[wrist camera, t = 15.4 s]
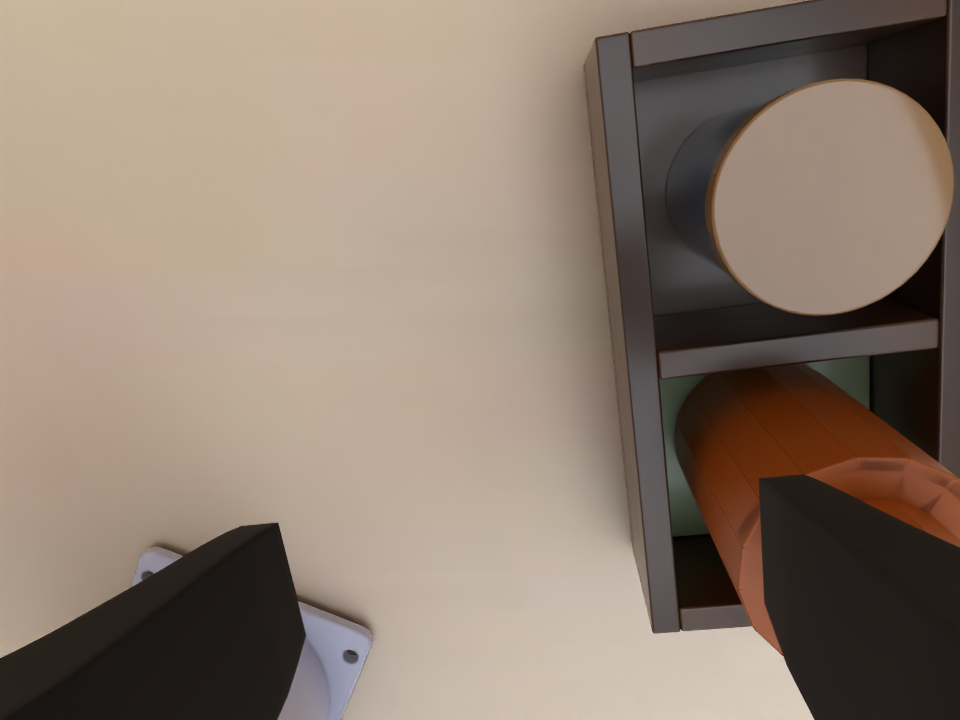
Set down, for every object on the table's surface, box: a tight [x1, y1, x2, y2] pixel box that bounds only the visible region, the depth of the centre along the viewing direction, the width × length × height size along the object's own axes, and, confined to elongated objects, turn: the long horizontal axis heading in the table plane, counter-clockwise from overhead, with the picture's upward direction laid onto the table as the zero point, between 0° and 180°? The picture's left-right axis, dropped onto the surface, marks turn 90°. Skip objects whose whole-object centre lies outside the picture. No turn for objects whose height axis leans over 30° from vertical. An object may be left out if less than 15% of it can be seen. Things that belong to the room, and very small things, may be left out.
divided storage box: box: [583, 0, 960, 633], centre depth 18 cm, size 7×14×4 cm, turn 8°
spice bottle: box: [674, 364, 960, 656], centre depth 16 cm, size 5×5×8 cm
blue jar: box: [666, 78, 954, 316], centre depth 15 cm, size 4×4×6 cm
